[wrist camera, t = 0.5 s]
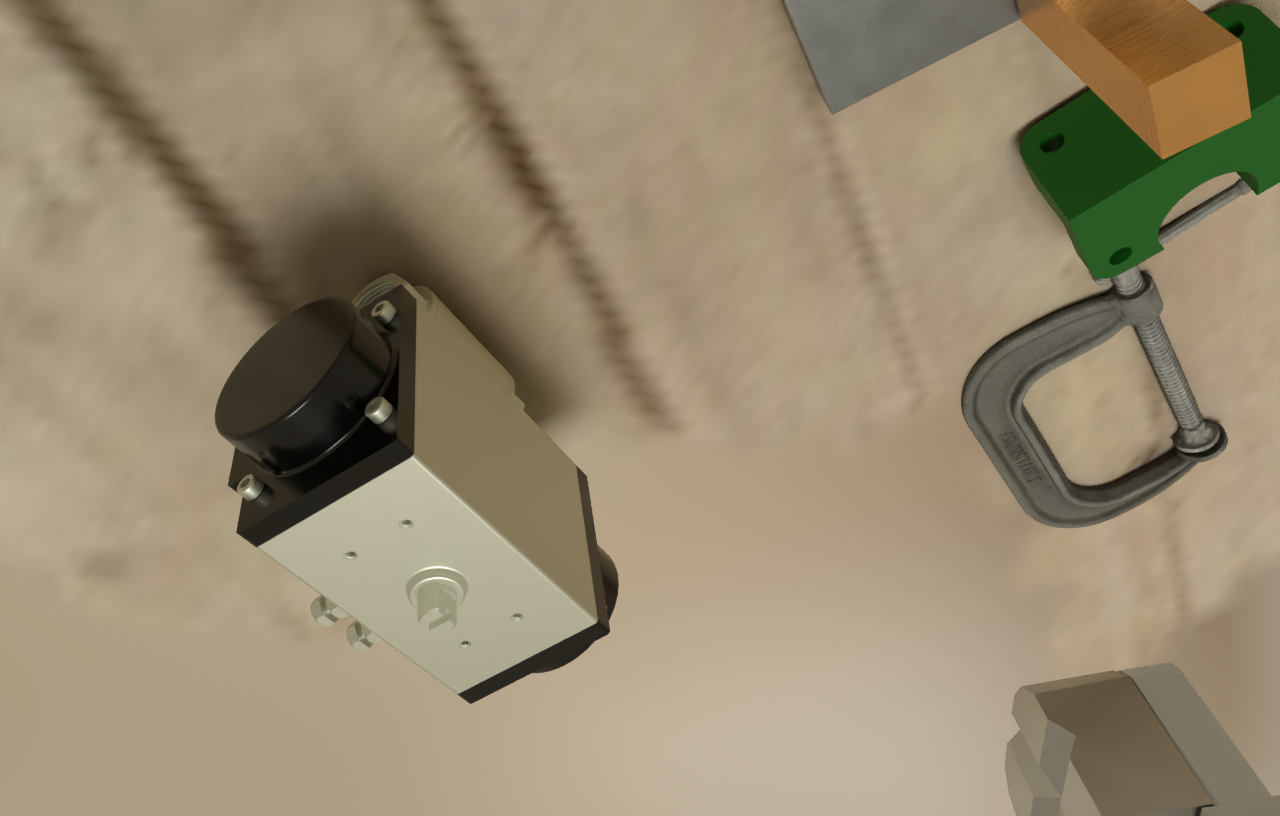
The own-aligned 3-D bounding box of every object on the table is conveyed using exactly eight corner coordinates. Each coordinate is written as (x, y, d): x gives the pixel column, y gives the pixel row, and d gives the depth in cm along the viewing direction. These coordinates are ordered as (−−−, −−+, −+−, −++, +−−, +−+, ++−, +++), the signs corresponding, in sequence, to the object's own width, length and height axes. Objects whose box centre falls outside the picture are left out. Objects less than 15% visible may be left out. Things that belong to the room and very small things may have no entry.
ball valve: (224, 263, 51) (150, 554, 38) (371, 164, 49) (349, 434, 36) (467, 487, 62) (476, 774, 49) (596, 413, 60) (644, 692, 47)
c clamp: (921, 326, 60) (938, 357, 58) (1243, 168, 56) (1274, 196, 54) (1019, 539, 73) (1036, 571, 71) (1287, 422, 69) (1314, 452, 67)
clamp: (1043, 144, 58) (1058, 295, 55) (1013, 71, 54) (1027, 230, 50) (1310, 71, 53) (1349, 235, 49) (1301, -17, 48) (1343, 155, 44)
